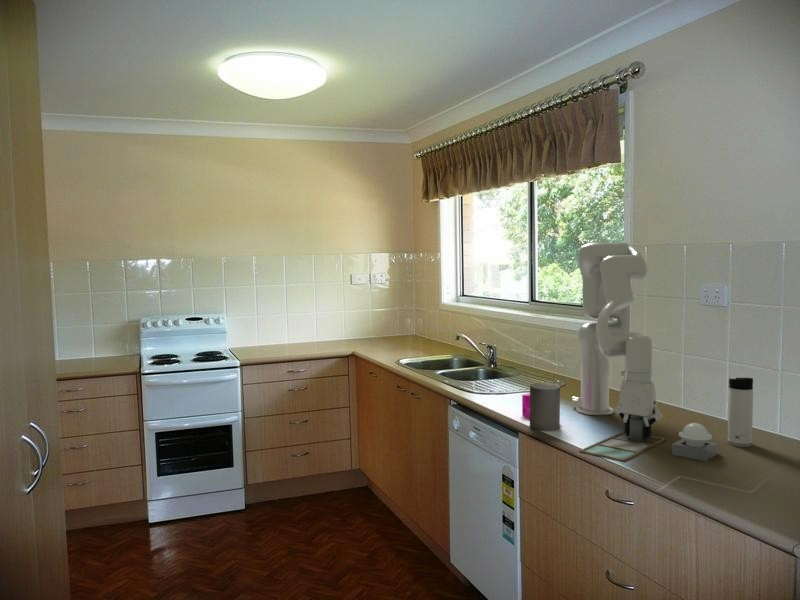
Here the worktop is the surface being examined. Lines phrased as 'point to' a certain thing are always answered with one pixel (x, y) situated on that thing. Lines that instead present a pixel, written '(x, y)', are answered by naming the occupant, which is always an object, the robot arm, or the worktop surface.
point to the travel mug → (740, 412)
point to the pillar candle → (545, 406)
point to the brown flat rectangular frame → (619, 448)
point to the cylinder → (636, 428)
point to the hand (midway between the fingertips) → (637, 436)
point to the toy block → (526, 405)
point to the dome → (695, 435)
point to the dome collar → (695, 450)
